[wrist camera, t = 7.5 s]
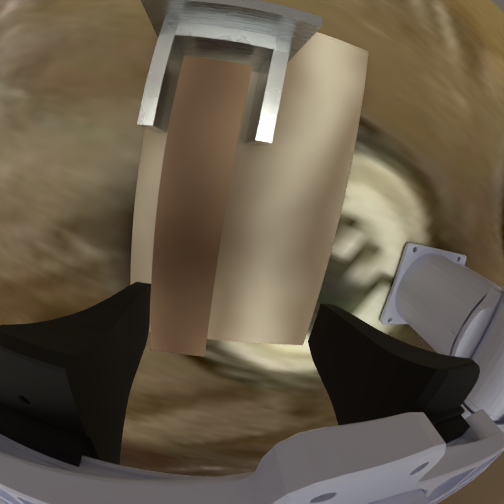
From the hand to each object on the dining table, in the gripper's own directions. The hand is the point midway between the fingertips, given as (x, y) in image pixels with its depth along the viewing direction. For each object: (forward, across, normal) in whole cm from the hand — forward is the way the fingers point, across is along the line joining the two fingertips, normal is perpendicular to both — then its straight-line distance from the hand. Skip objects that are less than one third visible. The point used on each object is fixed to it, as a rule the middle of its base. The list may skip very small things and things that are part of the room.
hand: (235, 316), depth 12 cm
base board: (+9, 0, -5) cm, 10 cm away
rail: (+8, +2, -3) cm, 9 cm away
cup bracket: (+8, +3, -10) cm, 14 cm away
